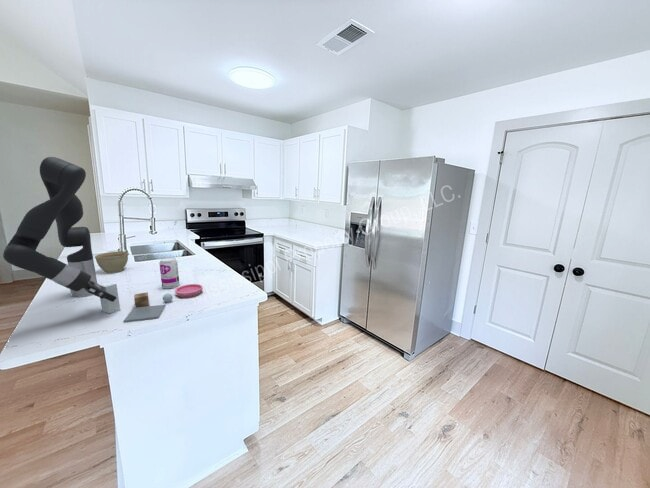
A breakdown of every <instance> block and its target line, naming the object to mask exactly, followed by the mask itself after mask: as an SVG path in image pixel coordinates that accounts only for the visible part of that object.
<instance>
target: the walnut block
mask: <svg viewBox="0 0 650 488" xmlns="http://www.w3.org/2000/svg"><path fill="white" fill-rule="evenodd" d="M133 295H134V297H133V298H134V299H133V301H134V308H137V307H147V306H150V300H149V299H150V298H149V292H148V291H147V292H141V293H140V292H139V293H134V294H133Z"/></svg>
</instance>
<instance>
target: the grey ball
mask: <svg viewBox="0 0 650 488" xmlns="http://www.w3.org/2000/svg"><path fill="white" fill-rule="evenodd" d="M173 297H174V296H173V295H172V294H171V293H165V294H164V295H163V296H162V301H163V302H164V303H170V302H172V300H173Z"/></svg>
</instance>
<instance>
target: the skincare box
mask: <svg viewBox="0 0 650 488" xmlns="http://www.w3.org/2000/svg"><path fill="white" fill-rule="evenodd" d="M97 284H98V286H100V287H101V288H103V289H104V291H106V292H108V293H109V294H111V295H113V296H115V297H116V299H115V300H114V301H113V302H112V301H109V300H107V299H105V298H103V299H101V298H100V297H99V300H100V301H99V302H100V307H101V311H102V312H105V313H108V314H112V313H115V312H118V311H120V310H121V305H120V298H119V293H118V291H119V290H118V285H117V283H114V282H111V281H106V282H103V283H97ZM102 294H103V293H102V292H101V293H100V295H102Z"/></svg>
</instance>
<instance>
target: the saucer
mask: <svg viewBox="0 0 650 488" xmlns="http://www.w3.org/2000/svg"><path fill="white" fill-rule="evenodd" d="M203 288H204V287H203V285H201V284H198V283H188V284H184V285H183V284H182V285H179V286H177V287H175V290H174V292H175V294H176V295H177V296H179V297H180V298H192V297H195V296H198V295H199V294H200V292H202V291H203Z"/></svg>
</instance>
